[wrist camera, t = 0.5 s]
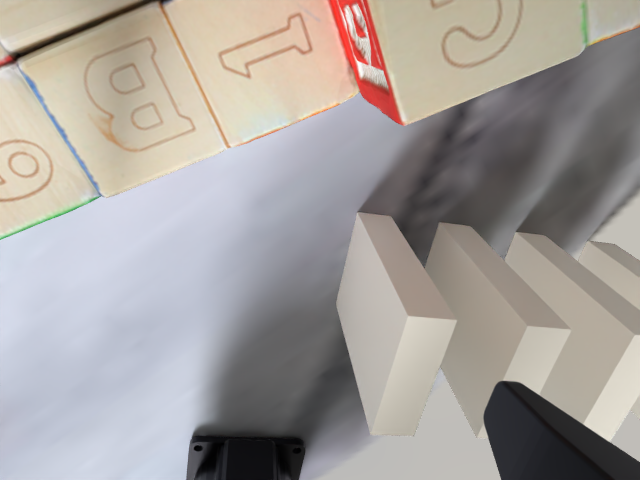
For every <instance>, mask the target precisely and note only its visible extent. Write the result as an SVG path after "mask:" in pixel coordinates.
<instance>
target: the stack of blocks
mask: <svg viewBox="0 0 640 480" xmlns="http://www.w3.org/2000/svg"><path fill="white" fill-rule="evenodd" d="M638 27H640V0H0V240H1V239H3V238H6V237H8V236H11V235H13V234H16V233H18V232H21V231H23V230H26V229H28V228H30V227H33V226H35V225H37V224H40V223H42V222H45V221H47V220H50V219H52V218H55V217H58V216H60V215H63V214H65V213H68V212H70V211H72V210H75V209H77V208H79V207H81V206H83V205H85V204H88V203H90V202H91V201H93V200H95V199H97V198H99V197H101V196H103V197H106V198H108V197H111V196H114V195H117V194H120V193H122V192H125V191H127V190H130V189H132V188H135V187H137V186H139V185H142V184H144V183H147V182H149V181H152V180H154V179H157V178H159V177H162V176H164V175H167V174H169V173H172V172H174V171H176V170H179V169H181V168H184V167H186V166H189V165H191V164H193V163H196V162H198V161H201V160H203V159H206V158H208V157H211V156H214V155H216V154H218V153H221V152H223V151H224V150H226V149H228V148H231V147H236V146H240V145H243V144H246V143H249V142H251V141H253V140H255V139H258V138H261V137H263V136H266V135H268V134H271V133H273V132H276V131H278V130H280V129H283V128H285V127H287V126H290V125H292V124H294V123H297V122H299V121H301V120H304V119H306V118H308V117H311V116H313V115H316V114H318V113H320V112H323V111H325V110H328V109H330V108H332V107H335V106H337V105H339V104H341V103H343V102H345V101H347V100H349V99H351V98H353V97H354V96H355V95H356V94H358V93H359V92H360V93H361V95H362V96H363V98H364V99H366V100H367V101H368V102H369V103H371V104H373V105H374V106H376V107H377V108H378V109H379V110H380V111H382V113H384V114H386V115H387V116H388V117H390V118H391V119H392V120H393V121H395V122H396V123H398V124H401V125H403V126H405V125H408V124H410V123H413V122H416V121H418V120H421V119H424V118H426V117H428V116H431V115H433V114H436V113H438V112H441V111H443V110H445V109H448V108H450V107H453V106H455V105H458V104H460V103H463V102H465V101H468V100H470V99H472V98H475V97H477V96H480V95H482V94H484V93H487V92H489V91H491V90H494V89H497V88H499V87H502V86H504V85H507V84H509V83H512V82H514V81H517V80H519V79H522V78H525V77H527V76H530V75H532V74H535V73H537V72H540V71H542V70H544V69H547V68H549V67H552V66H554V65H557V64H559V63H562V62H564V61H567V60H569V59H572V58H574V57H577V56H579V55H580V54H581V52H582V51H583V50H584V49H585V48H586V47H587V46H590V45H592V44H595V43H597V42H600V41H603V40H605V39H608V38H611V37H614V36H617V35H619V34H622V33H625V32H628V31H630V30H633V29H636V28H638Z"/></svg>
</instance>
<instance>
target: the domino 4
mask: <svg viewBox="0 0 640 480" xmlns="http://www.w3.org/2000/svg"><path fill="white" fill-rule="evenodd" d="M578 262H579V263H580V264H582V265H583V266H584V267H586V268H587V269H588V270H589V271H591V272H592V273H593V274H594V275H596V276H597V277H598V278H599V279H601V280H602V281H603V282H605V283H606V284H607V285H608V286H610V287H611V288H612V289H613V290H615V291H616V292H617V293H618V294H620V295H621V296H622V297H624V298H625V299H626V300H627V301H629V302H630V303H631V304H632V305H634V306H635V307H636V308H637V309H639V310H640V261H639V260H638V259H636V258H635V257H633V256H632V255H630V254H629V253H627V252H626V251H624V250H623V249H621V248H620V247H618V246H617V245H615V244H609V243H601V242H593V241H587V242H586V244H585V246H584V249H583V251H582V253H581V255H580V257H579V259H578ZM630 410H631V411H632V412H633V413H634V414H635V415H636V417H637V418H638V419H639V420H640V395H639V397H638V398H637V400H636V401H635V403H634V404H633V406H632V408H631V409H630Z"/></svg>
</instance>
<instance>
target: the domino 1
mask: <svg viewBox="0 0 640 480" xmlns="http://www.w3.org/2000/svg"><path fill="white" fill-rule="evenodd" d="M336 306H337V310H338V314H339V318H340V321H341V325H342V329H343V333H344V336H345V340H346V344H347V348H348V352H349V355H350V359H351V363H352V367H353V370H354V374H355V378H356V382H357V386H358V389H359V393H360V397H361V401H362V404H363V408H364V412H365V416H366V420H367V423H368V427H369V431H370V435H391V436H414V435H415V432H416V430H417V427H418V424H419V421H420V419H421V416H422V413H423V411H424V408H425V406H426V403H427V400H428V397H429V395H430V392H431V389H432V387H433V384H434V381H435V379H436V376H437V373H438V371H439V368H440V365H441V363H442V360H443V357H444V355H445V352H446V349H447V347H448V344H449V341H450V338H451V336H452V333H453V330H454V328H455V325H456V322H457V319H456V317H455V316H454V314H453V313H452V311H451V310H450V308H449V306H448V305H447V303H446V302H445V300H444V299H443V297H442V295H441V294H440V292H439V291H438V289H437V288H436V286H435V285H434V283H433V281H432V280H431V278H430V277H429V275H428V274H427V272H426V270H425V269H424V267H423V266H422V264H421V263H420V261H419V260H418V258H417V256H416V255H415V253H414V252H413V250H412V249H411V247H410V245H409V244H408V242H407V241H406V239H405V238H404V236H403V235H402V233H401V231H400V230H399V228H398V227H397V225H396V224H395V222H394V220H393V219H392V217H391V216H386V215H378V214H370V213H362V212H357V215H356V219H355V224H354V228H353V232H352V237H351V241H350V245H349V249H348V254H347V258H346V262H345V266H344V271H343V275H342V279H341V284H340V288H339V292H338V296H337V301H336Z"/></svg>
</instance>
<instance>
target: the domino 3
mask: <svg viewBox="0 0 640 480" xmlns="http://www.w3.org/2000/svg"><path fill="white" fill-rule="evenodd" d="M504 261H505V262H506V263H507V264H508V265H509V266H510V267H511V268H512V269H513V270H514V271H515V272H516V273H517V274H518V275H519V276H520V277H521V278H522V279H523V280H524V281H525V282H526V283H527V284H528V285H529V286H530V287H531V288H532V289H533V291H534V292H535V293H536V294H537V295H538V296H539V297H540V298H541V299H542V300H543V301H544V302H545V303H546V304H547V305H548V306H549V307H550V308H551V309H552V310H553V311H554V312H555V313H556V314H557V315H558V316H559V317H560V318H561V319H562V320H563V321H564V322H565V323H566V324H567V325H568V326H569V327H570V328H571V329H572V330H571V332H570V334H569V336H568V338H567V340H566V342H565V344H564V346H563V348H562V350H561V352H560V354H559V356H558V358H557V360H556V362H555V364H554V366H553V368H552V370H551V372H550V374H549V376H548V378H547V380H546V382H545V384H544V386H543V388H542V390H541V392H540V394H539V395H540V396H541V397H543V398H544V399H546V400H547V401H549V402H550V403H552V404H553V405H555V406H556V407H558V408H559V409H561V410H562V411H564V412H565V413H567V414H568V415H570V416H571V417H573V418H574V419H576V420H577V421H579V422H580V423H582V424H583V425H585V426H586V427H588V428H589V429H591V430H592V431H594V432H595V433H597V434H598V435H600V436H601V437H603V438H604V439H606V440H607V441H609V442H610V441H611V440H612V438H613V436H614V435H615V433H616V432H617V430H618V428H619V427H620V425H621V424H622V422H623V420H624V419H625V417H626V416H627V414H628V412H629V411H630V409H631V408H632V406H633V404H634V403H635V401H636V400H637V398H638V397H639V395H640V310H639V309H637V308H636V307H635V306H634V305H632V304H631V303H630V302H629V301H627V300H626V299H625V298H624V297H622V296H621V295H620V294H618V293H617V292H616V291H615V290H613V289H612V288H611V287H610V286H608V285H607V284H606V283H605V282H603V281H602V280H601V279H599V278H598V277H597V276H596V275H594V274H593V273H592V272H591V271H589V270H588V269H587V268H586V267H584V266H583V265H582V264H580V263H579V262H578V261H577V260H575V259H574V258H573V257H572V256H570V255H569V254H568V253H567V252H565V251H564V250H563V249H561V248H560V247H559V246H558V245H556V244H555V243H554V242H553V241H551V240H550V239H549V238H548V237H546V236H545V235H538V234H530V233H522V232H515V235H514V237H513V240H512V242H511V245H510V247H509V250H508V252H507V255H506V257H505V260H504Z"/></svg>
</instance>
